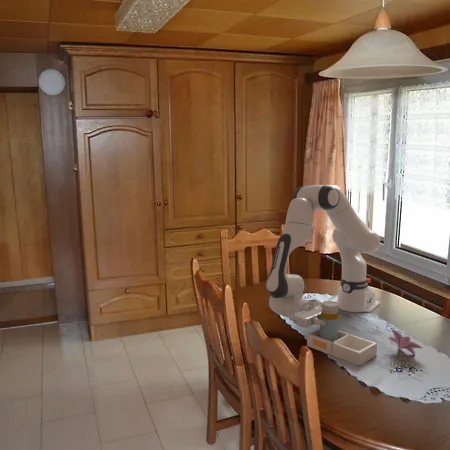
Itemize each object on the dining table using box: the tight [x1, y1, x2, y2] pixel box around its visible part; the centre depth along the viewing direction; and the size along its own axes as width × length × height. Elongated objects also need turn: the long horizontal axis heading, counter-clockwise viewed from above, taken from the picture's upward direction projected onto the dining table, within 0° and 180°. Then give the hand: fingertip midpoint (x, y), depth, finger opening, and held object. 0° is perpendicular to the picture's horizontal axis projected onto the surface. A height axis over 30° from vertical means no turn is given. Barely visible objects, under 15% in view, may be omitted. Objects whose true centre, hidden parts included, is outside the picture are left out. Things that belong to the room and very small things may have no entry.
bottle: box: [319, 300, 340, 342], centre depth 183 cm, size 7×7×15 cm
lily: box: [387, 328, 423, 359], centre depth 176 cm, size 12×12×10 cm
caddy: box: [306, 328, 378, 366], centre depth 180 cm, size 12×23×5 cm, turn 43°
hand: (331, 320), depth 182 cm, fingers closed on bottle, 6 cm apart
